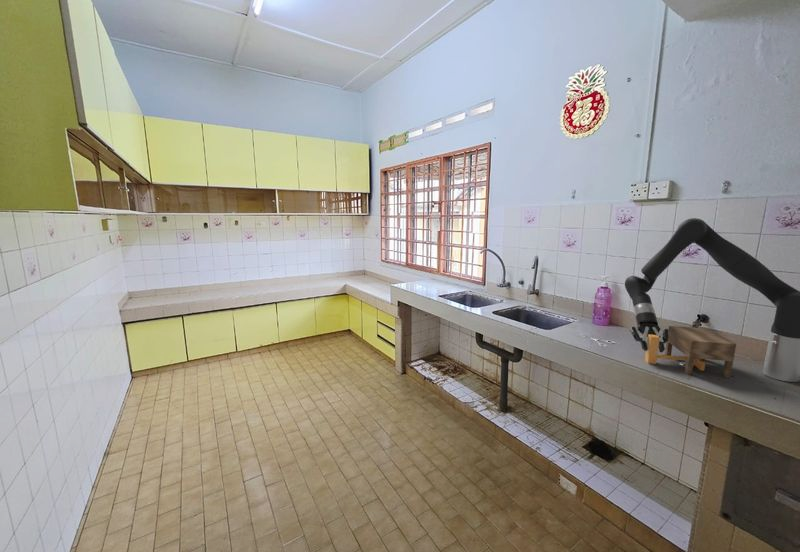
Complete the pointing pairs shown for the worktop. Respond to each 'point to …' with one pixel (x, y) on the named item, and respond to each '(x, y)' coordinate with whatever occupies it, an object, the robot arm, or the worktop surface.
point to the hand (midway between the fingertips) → (654, 350)
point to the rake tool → (653, 350)
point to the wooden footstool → (701, 346)
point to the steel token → (683, 364)
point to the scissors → (600, 340)
